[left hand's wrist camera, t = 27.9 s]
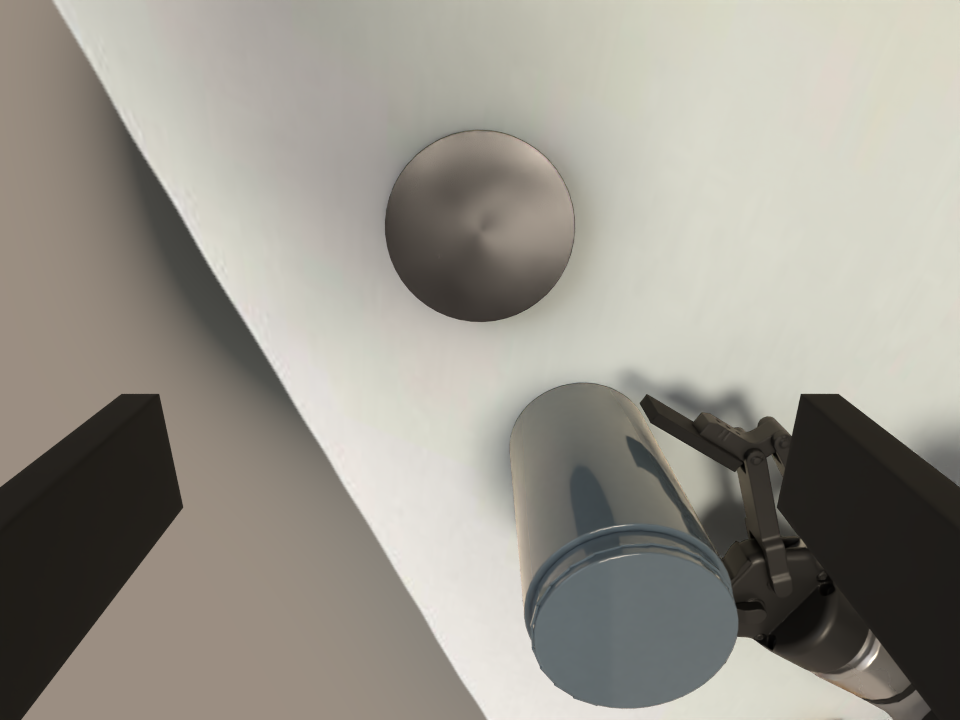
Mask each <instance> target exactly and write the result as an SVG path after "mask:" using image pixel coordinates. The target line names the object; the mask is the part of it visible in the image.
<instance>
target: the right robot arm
mask: <svg viewBox="0 0 960 720" xmlns="http://www.w3.org/2000/svg"><path fill="white" fill-rule="evenodd" d="M640 405H641V407H642V408H643V410H644V412H645V414H646V415H647V417H648V419H649V421H650V423H652V424H653V425H655V426H657V427H659V428H660V429H662V430H664V431H665V432H667V433H669V434H671V435H672V436H674V437H676V438H677V439H679V440H681V441H682V442H684V443H686V444H688V445H689V446H691V447H693V448H694V449H696V450H698V451H700V452H701V453H703V454H705V455H706V456H708V457H710V458H712V459H713V460H715V461H717V462H718V463H720V464H722V465H724V466H725V467H727V468H729V469H730V470H732V471H734V472H735V471H736V470H737V473H738V478H739V483H740V488H741V493H742V498H743V503H744V508H745V513H746V518H745V523H746V528H747V533H748V538H749V539H747V540H744V541H742V542H740V543H739V542H737V541H736V542H735V543H734V544H733V545H732V546H731V547H730V548H729V550H728V551H727V553H726V555H725V557H724V558H723V559H721V560H722V562H723V564H724V566H725V568H726V570H727V572H728V575H729V577H730V580H731V585H732V591H733V597H734V600H735V604H736V607H737V613H738V633H737V637H748V638H752V639H754V640H755V641H757V642H758V643H760V644H761V645H762V646H764V647H765V648H766V649H768V650H769V651H771V652H773V653H775V654H777V655H779V656H780V657H782V658H784V659H786V660H788V661H790V662H792V663H794V664H796V665H798V666H800V667H802V668H804V669H806V670H809V671H810V672H812V673H813V674H815V675H817V676H818V677H820V678H822V679H824V680H826V681H828V682H830V683H832V684H834V685H836V686H838V687H840V688H842V689H844V690H846V691H848V692H851V693H853V694H854V695H856V696H858V697H860V698H862V699H864V700H866V701H868V702H869V703H871V704H873V705H875V706H877V707H879V708H880V709H882V710H884V711H885V712H887V713H888V714H889V715H890V716H891V717H892V718H893V720H939V719H938V718H937V717H936V715H935V714H934V713H933V711H932V710H931V709H930V707H929V706H928V705H927V704H926V702H925V701H924V700H923V698H922V697H921V696H920V694H919V693H918V692H917V690H916V689H915V688H914V687H913V685H912V684H911V683H910V681H909V680H908V679H907V677H906V676H905V675H904V673H903V672H902V671H901V669H900V668H899V667H898V666H897V664H896V663H895V662H894V660H893V659H892V658H891V656H890V655H889V654H888V652H887V651H886V650H885V649H884V647H883V646H882V645H881V643H880V642H879V641H878V639H877V638H876V637H875V635H874V634H873V633H872V631H871V630H870V629H869V628H868V626H867V625H866V624H865V622H864V621H863V620H862V618H861V617H860V616H859V614H858V613H857V612H856V611H855V609H854V608H853V607H852V605H851V604H850V603H849V601H848V600H847V599H846V597H845V596H844V595H843V593H842V592H841V591H840V590H839V588H838V587H837V586H836V584H835V583H834V582H833V580H832V579H831V578H830V576H829V575H828V574H827V573H826V571H825V570H824V569H823V567H822V566H821V565H820V563H819V562H818V561H817V559H816V558H815V557H814V555H813V554H812V553H811V552H810V550H809V549H808V548H807V546H806V545H805V544H804V542H803V541H802V540H801V538H800V537H797V536H786V537H781V536H780V532H779V527H778V521H777V515H776V510H775V504H774V499H773V493H772V487H771V482H770V476H769V470H768V465H767V459H766V457H768V456H770V455H772V457H773V459H774V461H775V463H776V465H777V467H778V469H779V471H780V473H781V475H782V477H783V476H784V471H785V467H786V462H787V457H788V452H789V448H790V443H791V438H792V436H791V435H790V434H789V433H788V432H787V431H786V430H785V429H784V428H783V427H782V426H781V425H780V424H779V423H778V422H777V421H776V420H775V419H774V418H773V417H764V418H762V419H761V420H760V421H759V423H758V427H757V428H755V429H754V430H752V431H750V432H745V431H744V430H743V429H742V428H739V427H737V428H733V427H731V426H730V425H728V424H726V423H725V422H723V421H721V420H720V419H718V418H716V417H715V416H713V415H711V414H709V413H703V412H702V413H701V414H700V415H699V416H698V417H697V419H696V420H695V421H694V422H693V421H691V420H689V419H688V418H686V417H684V416H683V415H681V414H679V413H678V412H676V411H674V410H673V409H671V408H669V407H668V406H666V405H664V404H663V403H661V402H659V401H658V400H656V399H654V398H653V397H651V396H649V395H647V394H646V396H645V397H644V398H643V400H642V401H641V402H640ZM725 663H726V662H725Z"/></svg>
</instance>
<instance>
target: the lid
mask: <svg viewBox="0 0 960 720" xmlns="http://www.w3.org/2000/svg"><path fill="white" fill-rule="evenodd" d="M574 234H575V217H574V210H573V205H572V201H571V198H570V194H569V191H568V189H567V187H566V185H565V183H564V181H563V179H562V177H561V176H560V174H559V172H558V171H557V169H556V168H555V167H554V166H553V165H552V163H551V162H550V161H549V160H548V159H547V158H546V157H545V156H544V155H543V154H542V153H541V152H539V151H538V150H537V149H535V148H534V147H532V146H531V145H530V144H528V143H526V142H524V141H522V140H520V139H518V138H516V137H514V136H511V135H508V134H505V133H502V132H497V131H491V130H470V131H463V132H459V133H455V134H451V135H449V136H446V137H444V138H441V139H439V140H438V141H436V142H434V143H432V144H431V145H429V146H427V147H426V148H425V149H423V150H422V151H421V152H419V153H418V154H417V155H416V156H415V157H414V158H413V159H412V160H411V161H410V162H409V163H408V164H407V166H406V167H405V168H404V170H403V171H402V172H401V174H400V175H399V177H398V179H397V181H396V183H395V184H394V187H393V189H392V192H391V194H390V197H389V201H388V205H387V209H386V218H385V235H386V242H387V248H388V251H389V255H390V258H391V261H392V263H393V265H394V268H395V270H396V272H397V273H398V275H399V277H400V278H401V280H402V281H403V283H404V284H405V285H406V287H407V288H408V289H409V290H410V291H411V292H412V293H413V294H414V295H415V296H416V297H417V298H418V299H419V300H420V301H422V302H423V303H424V304H426V305H427V306H429V307H430V308H432V309H434V310H435V311H437V312H439V313H441V314H444V315H446V316H449V317H452V318H455V319H459V320H465V321H471V322H487V321H496V320H500V319H505V318H508V317H511V316H514V315H517V314H519V313H521V312H523V311H525V310H527V309H528V308H530V307H531V306H533V305H534V304H536V303H537V302H538V301H540V300H541V299H542V298H543V297H544V296H545V295H547V293H548V292H549V291H550V290H551V289H552V288H553V287H554V286H555V284H556V283H557V281H558V280H559V278H560V277H561V275H562V273H563V271H564V269H565V268H566V266H567V263H568V260H569V258H570V255H571V251H572V247H573V243H574Z"/></svg>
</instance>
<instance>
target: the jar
mask: <svg viewBox="0 0 960 720" xmlns="http://www.w3.org/2000/svg"><path fill="white" fill-rule="evenodd" d="M510 462H511V474H512V485H513V496H514V507H515V519H516V530H517V541H518V552H519V564H520V575H521V586H522V598H523V609H524V618H525V624H526V628H527V631H528V634H529V637H530V639H531V641H532V650H533V652H534V654H535V657H536V659H537V661H538V663H539V666H540V669H541V670H542V671H543V672H544V673H545V674H546V675H547V676H548V678H549V679H550V680H551V681H552V682H553V683H554V685H555V686H556V687H558V688H560V689H561V690H563V691H565V692H566V693H568V694H569V695H571V696H573V698H574V699H577V700H580V701H583V702H587V703H590V704H593V705H596V706H604V707H609V708H621V709H634V708H644V707H651V706H656V705H660V704H664V703H667V702H670V701H673V700H676V699H678V698H681V697H683V696H685V695H687V694H689V693H691V692H693V691H694V690H696V689H697V688H699V687H700V686H702V685H703V684H705V683H706V682H707V681H708V680H710V679H711V678H712V677H713V676H714V675H715V674H716V673H717V672H718V671H719V670H720V669H721V668H722V666H723V665H724V664H725V662H726V661H727V659H728V658H729V656H730V654H731V652H732V650H733V648H734V645H735V642H736V639H737V633H738V613H737V607H736V604H735V600H734V597H733V591H732V585H731V580H730V577H729V575H728V572H727V570H726V568H725V566H724V564H723V562H722V560H721V559H720V557H719V555H718V553H717V551H716V549H715V548H714V546H713V544H712V542H711V540H710V538H709V537H708V535H707V533H706V531H705V529H704V528H703V526H702V524H701V522H700V520H699V518H698V517H697V515H696V513H695V511H694V509H693V507H692V506H691V504H690V502H689V500H688V498H687V496H686V495H685V493H684V491H683V489H682V487H681V485H680V484H679V482H678V480H677V478H676V476H675V474H674V473H673V471H672V469H671V467H670V465H669V463H668V462H667V460H666V458H665V456H664V454H663V452H662V451H661V449H660V447H659V445H658V443H657V441H656V440H655V438H654V436H653V434H652V432H651V431H650V429H649V427H648V425H647V423H646V421H645V420H644V418H643V416H642V414H641V412H640V411H639V409H638V408H637V407H636V406H635V404H634V403H633V402H632V401H630V400H629V399H628V398H627V397H626V396H624V395H623V394H621V393H619V392H618V391H616V390H614V389H611V388H608V387H606V386H602V385H598V384H590V383H575V384H568V385H564V386H560V387H557V388H554V389H552V390H549V391H548V392H546V393H544V394H542V395H540V396H539V397H538V398H536V399H535V400H533V401H532V402H531V403H530V404H529V405H528V406H527V407H526V408H525V409H524V411H523V412H522V413H521V414H520V416H519V417H518V419H517V421H516V423H515V425H514V427H513V430H512V433H511V438H510ZM534 646H535V647H534Z"/></svg>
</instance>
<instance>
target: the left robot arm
mask: <svg viewBox="0 0 960 720" xmlns="http://www.w3.org/2000/svg"><path fill="white" fill-rule="evenodd" d="M182 508H183V504H182V499H181V495H180V490H179V485H178V481H177V476H176V471H175V467H174V462H173V457H172V452H171V448H170V443H169V438H168V434H167V429H166V424H165V420H164V415H163V410H162V405H161V401H160V396H159V394H121V395H120V396H118V397H117V398H116V399H114V400H113V401H112V402H111V403H109V404H108V405H107V406H105V407H104V408H103V409H101V410H100V411H99V412H98V413H96V414H95V415H94V416H92V417H91V418H90V419H88V420H87V421H86V422H85V423H83V424H82V425H81V426H79V427H78V428H77V429H76V430H74V431H73V432H72V433H70V434H69V435H68V436H66V437H65V438H64V439H62V440H61V441H60V442H59V443H57V444H56V445H55V446H53V447H52V448H51V449H49V450H48V451H47V452H46V453H44V454H43V455H42V456H40V457H39V458H38V459H36V460H35V461H34V462H33V463H31V464H30V465H29V466H27V467H26V468H25V469H23V470H22V471H21V472H20V473H18V474H17V475H16V476H14V477H13V478H12V479H10V480H9V481H8V482H7V483H5V484H4V485H3V486H1V487H0V720H21V719H22V718H23V717H24V715H25V714H26V713H27V711H28V710H29V709H30V707H31V706H32V705H33V704H34V702H35V701H36V700H37V698H38V697H39V696H40V694H41V693H42V692H43V690H44V689H45V688H46V687H47V685H48V684H49V683H50V681H51V680H52V679H53V677H54V676H55V675H56V673H57V672H58V671H59V669H60V668H61V667H62V666H63V664H64V663H65V662H66V660H67V659H68V658H69V656H70V655H71V654H72V652H73V651H74V650H75V648H76V647H77V646H78V645H79V643H80V642H81V641H82V639H83V638H84V637H85V635H86V634H87V633H88V631H89V630H90V629H91V628H92V626H93V625H94V624H95V622H96V621H97V620H98V618H99V617H100V616H101V614H102V613H103V612H104V610H105V609H106V608H107V606H108V605H109V604H110V603H111V601H112V600H113V599H114V597H115V596H116V595H117V593H118V592H119V591H120V590H121V588H122V587H123V586H124V584H125V583H126V582H127V580H128V579H129V578H130V576H131V575H132V574H133V573H134V571H135V570H136V569H137V567H138V566H139V565H140V563H141V562H142V561H143V559H144V558H145V557H146V555H147V554H148V553H149V552H150V550H151V549H152V548H153V546H154V545H155V544H156V542H157V541H158V540H159V538H160V537H161V536H162V535H163V533H164V532H165V531H166V529H167V528H168V527H169V525H170V524H171V523H172V521H173V520H174V519H175V517H176V516H177V515H178V514H179V512H180V511H181V510H182ZM777 508H778V510H779V511H780V512H781V514H782V515H783V516H784V517H785V519H786V520H787V521H788V523H789V524H790V525H791V527H792V528H793V529H794V531H795V532H796V533H797V535H798V536H799V537H800V538H801V540H802V541H803V542H804V544H805V545H806V546H807V548H808V549H809V550H810V552H811V553H812V554H813V555H814V557H815V558H816V559H817V561H818V562H819V563H820V565H821V566H822V567H823V569H824V570H825V571H826V573H827V574H828V575H829V576H830V578H831V579H832V580H833V582H834V583H835V584H836V586H837V587H838V588H839V590H840V591H841V592H842V593H843V595H844V596H845V597H846V599H847V600H848V601H849V603H850V604H851V605H852V607H853V608H854V609H855V611H856V612H857V613H858V614H859V616H860V617H861V618H862V620H863V621H864V622H865V624H866V625H867V626H868V628H869V629H870V630H871V631H872V633H873V634H874V635H875V637H876V638H877V639H878V641H879V642H880V643H881V645H882V646H883V647H884V649H885V650H886V651H887V652H888V654H889V655H890V656H891V658H892V659H893V660H894V662H895V663H896V664H897V666H898V667H899V668H900V669H901V671H902V672H903V673H904V675H905V676H906V677H907V679H908V680H909V681H910V683H911V684H912V685H913V687H914V688H915V689H916V690H917V692H918V693H919V694H920V696H921V697H922V698H923V700H924V701H925V702H926V704H927V705H928V706H929V707H930V709H931V710H932V711H933V713H934V714H935V715H936V717H937V718H938V719H939V720H960V487H959V486H957V485H956V484H955V483H953V482H952V481H951V480H950V479H948V478H947V477H946V476H944V475H943V474H942V473H940V472H939V471H938V470H937V469H935V468H934V467H933V466H931V465H930V464H929V463H927V462H926V461H925V460H924V459H922V458H921V457H920V456H918V455H917V454H916V453H914V452H913V451H912V450H911V449H909V448H908V447H907V446H905V445H904V444H903V443H901V442H900V441H899V440H898V439H896V438H895V437H894V436H892V435H891V434H890V433H888V432H887V431H886V430H885V429H883V428H882V427H881V426H879V425H878V424H877V423H875V422H874V421H873V420H872V419H870V418H869V417H868V416H866V415H865V414H864V413H862V412H861V411H860V410H859V409H857V408H856V407H855V406H853V405H852V404H851V403H849V402H848V401H847V400H846V399H844V398H843V397H842V396H840V395H839V394H801V396H800V401H799V405H798V410H797V415H796V419H795V424H794V429H793V434H792V438H791V443H790V448H789V452H788V457H787V462H786V467H785V471H784V476H783V481H782V485H781V490H780V495H779V499H778V504H777Z"/></svg>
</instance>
